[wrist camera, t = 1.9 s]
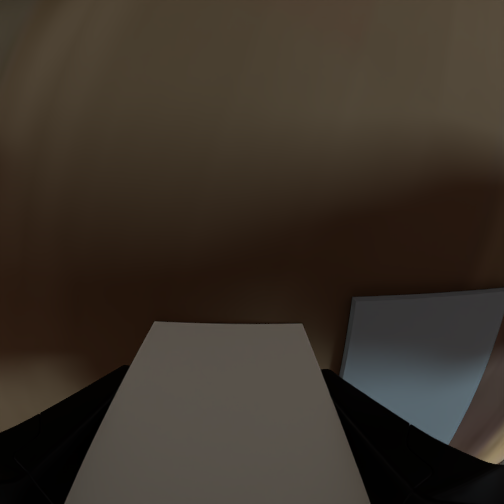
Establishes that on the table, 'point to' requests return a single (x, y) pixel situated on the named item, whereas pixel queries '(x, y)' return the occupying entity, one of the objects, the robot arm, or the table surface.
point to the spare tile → (221, 424)
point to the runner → (422, 353)
